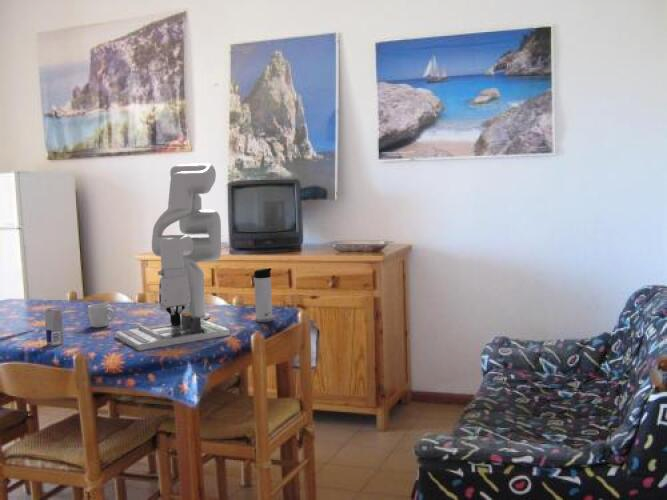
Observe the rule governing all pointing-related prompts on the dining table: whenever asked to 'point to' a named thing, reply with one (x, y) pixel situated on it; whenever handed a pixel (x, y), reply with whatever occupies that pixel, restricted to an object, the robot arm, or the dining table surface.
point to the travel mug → (263, 295)
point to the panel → (170, 334)
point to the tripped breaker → (186, 320)
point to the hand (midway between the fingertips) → (175, 325)
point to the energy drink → (54, 326)
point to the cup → (100, 315)
